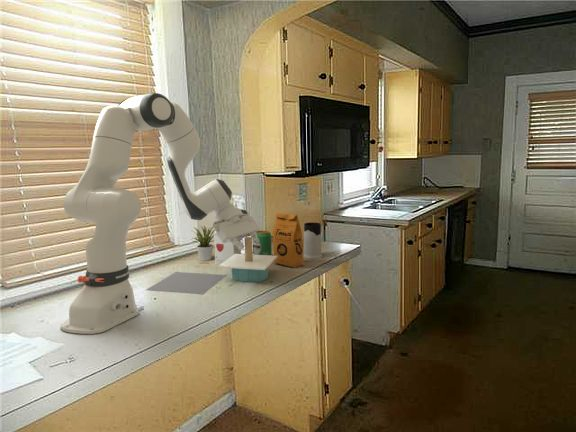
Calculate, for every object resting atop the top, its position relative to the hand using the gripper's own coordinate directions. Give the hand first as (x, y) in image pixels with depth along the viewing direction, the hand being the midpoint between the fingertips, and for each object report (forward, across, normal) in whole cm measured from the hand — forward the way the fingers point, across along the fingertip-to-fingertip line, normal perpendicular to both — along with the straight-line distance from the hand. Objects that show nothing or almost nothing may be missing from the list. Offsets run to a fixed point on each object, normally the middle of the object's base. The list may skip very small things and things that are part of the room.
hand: (249, 245), depth 161 cm
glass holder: (+12, +43, +6) cm, 45 cm away
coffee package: (+11, +23, +7) cm, 26 cm away
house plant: (-15, +11, +33) cm, 38 cm away
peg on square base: (+4, 0, +5) cm, 7 cm away
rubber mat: (-2, -18, +20) cm, 27 cm away
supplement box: (-5, +10, +23) cm, 26 cm away
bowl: (+8, 0, +9) cm, 13 cm away
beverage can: (0, +25, +18) cm, 31 cm away
